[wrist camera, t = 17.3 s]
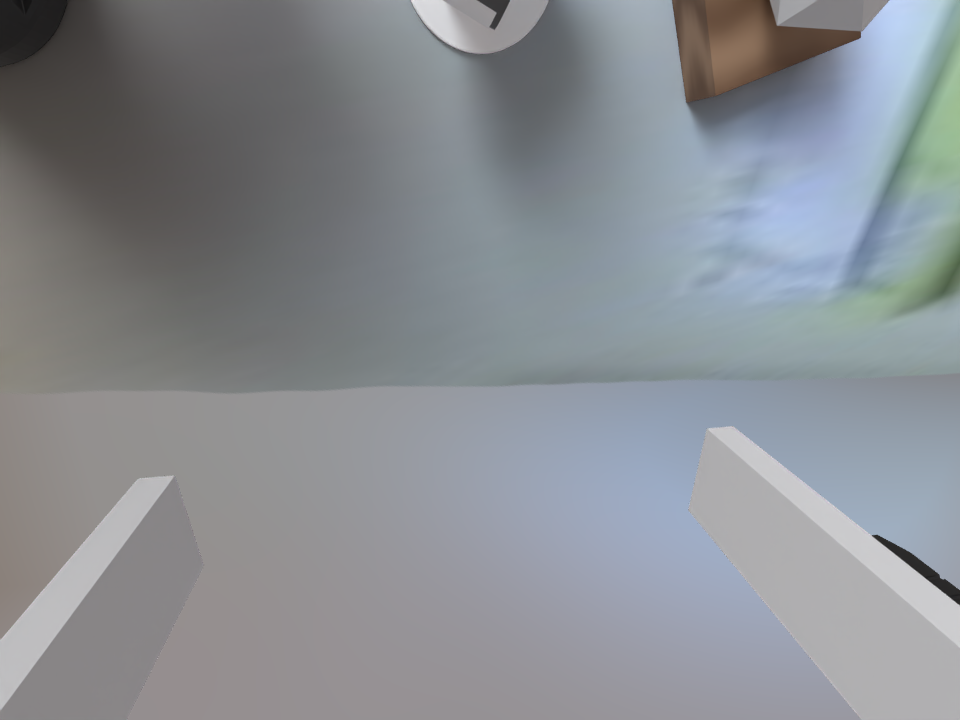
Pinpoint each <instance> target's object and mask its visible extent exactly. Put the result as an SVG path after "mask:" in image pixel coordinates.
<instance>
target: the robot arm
mask: <svg viewBox="0 0 960 720" xmlns="http://www.w3.org/2000/svg"><path fill="white" fill-rule="evenodd" d="M66 3H67V0H0V66H4V65H9V64H12V63H15V62H18V61H20V60H22V59H25V58H27V57H28V56H30V55H32V54H33V53H35V52H36V51H37V50H39V49H40V48H41V47H42V46H43V45H44V44H45V43H46V42H47V41H48V40H49V39H50V38H51V36H52V35H53V33H54V32H55V31H56V29H57V27H58V25H59V23H60V21H61V19H62V16H63V14H64V11H65V7H66ZM688 510H689V512H690V513H691V514H692V515H693V517H694V518H695V519H696V520H697V521H698V522H699V524H700V525H701V526H702V527H703V529H704V530H705V531H706V532H707V533H708V535H709V536H710V537H711V538H712V539H713V541H714V542H715V543H716V544H717V545H718V547H719V548H720V549H721V550H722V552H723V553H724V554H725V555H726V556H727V558H728V559H729V560H730V561H731V562H732V564H733V565H734V566H735V567H736V569H737V570H738V571H739V572H740V573H741V574H742V576H743V577H744V578H745V579H746V580H747V582H748V583H749V584H750V585H751V586H752V588H753V589H754V590H755V591H756V593H757V594H758V595H759V596H760V598H761V599H762V600H763V601H764V602H765V604H766V605H767V606H768V607H769V608H770V610H771V611H772V612H773V613H774V614H775V616H776V617H777V618H778V619H779V621H780V622H781V623H782V624H783V625H784V627H785V628H786V629H787V630H788V631H789V633H790V634H791V635H792V636H793V637H794V639H795V640H796V641H797V642H798V643H799V645H800V646H801V647H802V648H803V649H804V651H805V652H806V653H807V654H808V656H809V657H810V658H811V659H812V660H813V661H814V663H815V664H816V665H817V667H818V668H819V669H820V670H821V671H822V672H823V674H824V675H825V676H826V677H827V678H828V680H829V681H830V682H831V683H832V685H833V686H834V687H835V688H836V689H837V691H838V692H839V693H840V694H841V695H842V697H843V698H844V699H845V700H846V702H847V703H848V704H849V705H850V706H851V708H852V709H853V710H854V711H855V712H856V714H857V715H858V716H859V717H860V719H861V720H960V590H959V589H957V588H956V587H955V586H953V585H952V584H951V583H950V582H948V581H947V580H945V579H944V580H942V579H941V578H940V576H939V574H938V573H936V572H935V571H934V570H933V569H931V568H930V567H929V566H927V565H926V564H924V563H923V562H922V561H921V560H919V559H918V558H917V557H916V556H914V555H913V554H912V553H910V552H908V551H906V550H905V549H903V548H901V547H899V546H897V545H895V544H893V543H892V542H890V541H888V540H886V539H884V538H882V537H880V536H878V535H872V536H871V535H870V534H869V533H867V532H866V531H865V530H863V529H862V528H861V527H860V526H858V525H857V524H856V523H854V522H853V521H852V520H851V519H850V518H848V517H847V516H846V515H845V514H843V513H842V512H841V511H839V510H838V509H837V508H836V507H834V506H833V505H832V504H831V503H829V502H828V501H827V500H826V499H824V498H823V497H822V496H820V495H819V494H818V493H817V492H815V491H814V490H813V489H812V488H810V487H809V486H808V485H806V484H805V483H804V482H803V481H801V480H800V479H799V478H798V477H796V476H795V475H794V474H793V473H791V472H790V471H789V470H788V469H786V468H785V467H784V466H783V465H781V464H780V463H779V462H777V461H776V460H775V459H773V458H772V457H771V456H770V455H769V454H767V453H766V452H765V451H764V450H762V449H761V448H760V447H758V446H757V445H756V444H755V443H753V442H752V441H751V440H750V439H748V438H747V437H746V436H744V435H743V434H742V433H741V432H739V431H738V430H737V429H736V428H734V427H733V426H731V427H719V428H708V429H707V430H706V435H705V439H704V443H703V448H702V452H701V456H700V461H699V465H698V470H697V474H696V479H695V483H694V487H693V492H692V496H691V500H690V505H689V509H688ZM203 566H204V564H203V561H202V558H201V555H200V552H199V549H198V546H197V542H196V539H195V536H194V533H193V530H192V527H191V524H190V521H189V517H188V514H187V511H186V508H185V505H184V502H183V499H182V495H181V492H180V489H179V486H178V483H177V480H176V477H175V475H173V476H162V477H150V478H139V479H137V480H136V482H135V483H134V484H133V485H132V486H131V488H130V489H129V490H128V491H127V492H126V493H125V495H124V496H123V497H122V498H121V499H120V500H119V502H118V503H117V504H116V505H115V506H114V508H113V509H112V510H111V511H110V512H109V513H108V515H107V516H106V517H105V518H104V519H103V520H102V522H101V523H100V524H99V525H98V526H97V527H96V529H95V530H94V531H93V532H92V533H91V534H90V536H89V537H88V538H87V539H86V540H85V541H84V543H83V544H82V545H81V546H80V547H79V549H78V550H77V551H76V552H75V553H74V555H73V556H72V557H71V558H70V559H69V560H68V562H67V563H66V564H65V565H64V566H63V567H62V569H61V570H60V571H59V572H58V573H57V574H56V576H55V577H54V578H53V579H52V580H51V581H50V583H49V584H48V585H47V586H46V587H45V588H44V590H43V591H42V592H41V593H40V594H39V595H38V597H37V598H36V599H35V600H34V601H33V603H32V604H31V605H30V606H29V607H28V608H27V610H26V611H25V612H24V613H23V614H22V615H21V617H20V618H19V619H18V620H17V621H16V622H15V624H14V625H13V626H12V627H11V628H10V630H9V631H8V632H7V633H6V634H5V635H4V637H3V638H2V639H1V640H0V720H127V718H128V716H129V714H130V712H131V710H132V708H133V706H134V704H135V702H136V700H137V698H138V696H139V694H140V692H141V690H142V688H143V686H144V684H145V682H146V680H147V678H148V676H149V674H150V672H151V670H152V668H153V666H154V664H155V662H156V660H157V658H158V656H159V654H160V652H161V650H162V648H163V646H164V644H165V642H166V640H167V638H168V636H169V634H170V632H171V630H172V628H173V626H174V624H175V622H176V620H177V618H178V616H179V614H180V613H181V611H182V609H183V606H184V605H185V602H186V601H187V598H188V596H189V594H190V593H191V591H192V589H193V587H194V585H195V583H196V581H197V578H198V577H199V575H200V573H201V570H202V569H203Z"/></svg>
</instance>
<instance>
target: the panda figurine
mask: <svg viewBox="0 0 960 720" xmlns="http://www.w3.org/2000/svg"><path fill="white" fill-rule="evenodd" d="M410 1H411V3H412V5H413V7H414V9H415V11H416V12H417V14H418V16H419V17H420V18H421V20H422V21H423V23H424V24H425V25H426V26H427V27H428V29H429V30H430V31H431V32H432V33H433V34H434V35H436V36H437V37H438V38H439V39H440V40H442V41H443V42H445V43H446V44H448V45H450V46H452V47H454V48H456V49H458V50H461V51H464V52H468V53H474V54H489V53H495V52H498V51H501V50H504V49H506V48H509V47H511V46H512V45H514V44H516V43H517V42H518V41H520V40H521V39H522V38H524V37H525V36H526V35H527V34H528V33H529V32H530V31H531V29H532V28H533V27H534V26H535V25H536V23H537V22H538V20H539V19H540V17H541V16H542V14H543V12H544V10H545V8H546V6H547V4H548V1H549V0H410Z"/></svg>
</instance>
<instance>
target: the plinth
mask: <svg viewBox="0 0 960 720" xmlns="http://www.w3.org/2000/svg"><path fill="white" fill-rule="evenodd" d="M672 2H673V9H674V17H675V24H676V31H677V38H678V46H679V53H680V60H681V67H682V75H683V82H684V89H685V96H686V103H687V102H691V101H696V100H700V99H705V98H709V97H713V96H717V95H719V94H722V93H724V92H727V91H729V90H732V89H734V88H737V87H739V86H742V85H744V84H747V83H749V82H752V81H754V80H757V79H759V78H762V77H764V76H767V75H769V74H772V73H774V72H777V71H779V70H782V69H784V68H787V67H789V66H792V65H794V64H797V63H799V62H802V61H804V60H807V59H809V58H812V57H814V56H817V55H819V54H822V53H824V52H827V51H829V50H832V49H834V48H837V47H839V46H842V45H844V44H847V43H849V42H852V41H854V40H857V39H859V38H861V31H848V30H833V29H818V28H803V27H788V26H777V24H776V21H775V17H774V13H773V10H772V6H771V3H770V0H672Z"/></svg>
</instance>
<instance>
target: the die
mask: <svg viewBox="0 0 960 720" xmlns="http://www.w3.org/2000/svg"><path fill="white" fill-rule="evenodd" d="M888 1H889V0H770V3H771V6H772V10H773V13H774V17H775V21H776V24H777V26H788V27H803V28H818V29H833V30H848V31H863V30H864V29H865V27H866V26H867V25H868V24H869V23H870V22H871V21H872V19H873V18H874V17H875V16H876V15H877V14H878V13H879V11H880V10H881V9H882V8H883V7H884V6H885V5H886V4H887V2H888Z"/></svg>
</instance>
